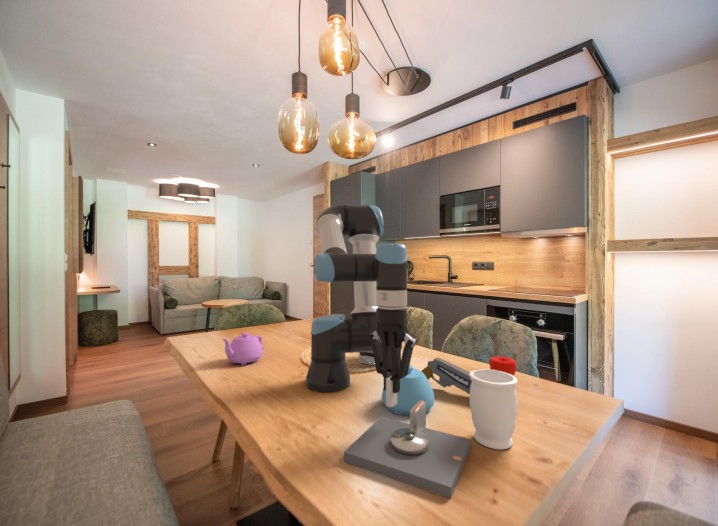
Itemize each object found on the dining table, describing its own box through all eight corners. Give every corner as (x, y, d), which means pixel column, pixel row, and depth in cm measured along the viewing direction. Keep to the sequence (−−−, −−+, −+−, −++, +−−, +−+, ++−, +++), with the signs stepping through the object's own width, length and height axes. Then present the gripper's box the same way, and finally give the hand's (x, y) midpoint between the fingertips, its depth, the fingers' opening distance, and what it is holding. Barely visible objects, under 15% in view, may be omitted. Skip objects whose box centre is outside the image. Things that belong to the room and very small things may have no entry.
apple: (509, 387, 109) (509, 363, 109) (484, 380, 116) (484, 358, 116) (520, 380, 115) (520, 358, 115) (496, 374, 122) (496, 353, 122)
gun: (480, 431, 97) (499, 390, 93) (414, 381, 113) (429, 343, 109) (484, 427, 99) (503, 386, 95) (419, 379, 115) (433, 342, 111)
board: (343, 461, 68) (343, 451, 68) (380, 424, 83) (380, 415, 83) (451, 498, 57) (451, 486, 57) (470, 448, 73) (470, 438, 73)
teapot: (233, 372, 124) (233, 340, 124) (211, 365, 132) (211, 335, 132) (273, 359, 141) (273, 331, 141) (251, 354, 149) (251, 327, 149)
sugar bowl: (373, 400, 99) (373, 361, 99) (415, 392, 105) (415, 356, 105) (398, 422, 85) (398, 377, 85) (445, 412, 91) (445, 370, 91)
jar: (462, 429, 81) (462, 369, 81) (502, 428, 82) (502, 368, 82) (482, 454, 70) (482, 384, 70) (527, 452, 71) (527, 383, 71)
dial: (421, 459, 65) (421, 428, 65) (384, 448, 69) (384, 418, 69) (439, 430, 76) (439, 403, 76) (406, 422, 80) (406, 397, 80)
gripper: (361, 306, 81) (361, 402, 80) (406, 311, 72) (407, 418, 72) (378, 304, 86) (378, 393, 86) (422, 307, 78) (423, 406, 78)
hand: (391, 404), depth 79 cm, fingers closed
